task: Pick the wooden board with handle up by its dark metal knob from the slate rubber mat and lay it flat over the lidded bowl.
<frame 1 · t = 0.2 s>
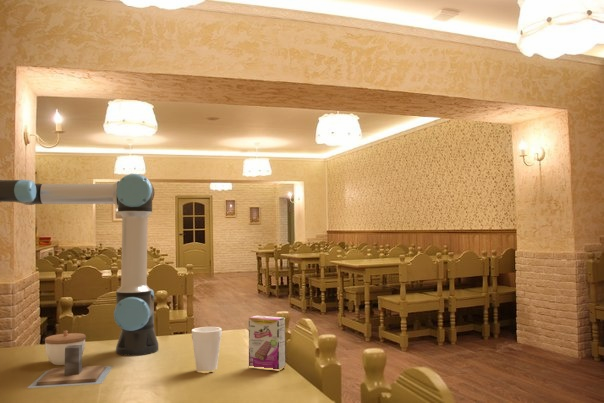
candy bar box: (267, 369, 167), on the table
mat: (73, 378, 159), on the table
foam cup: (206, 371, 165), on the table
wooden board with handle: (73, 376, 159), resting on mat
lidded bowl: (65, 364, 177), on the table
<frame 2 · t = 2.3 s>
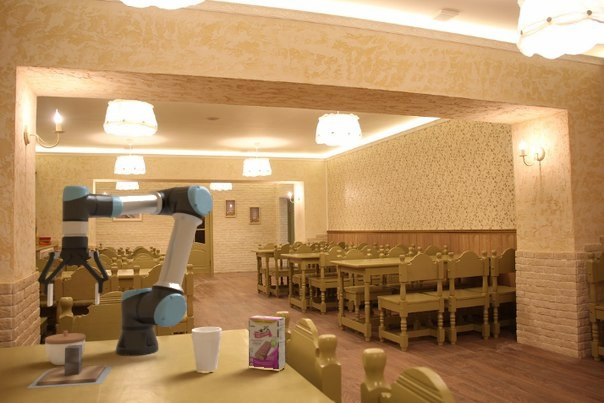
hand: (73, 305, 160), 22 cm above the table, fingers open, 13 cm apart
nothing on the table moved.
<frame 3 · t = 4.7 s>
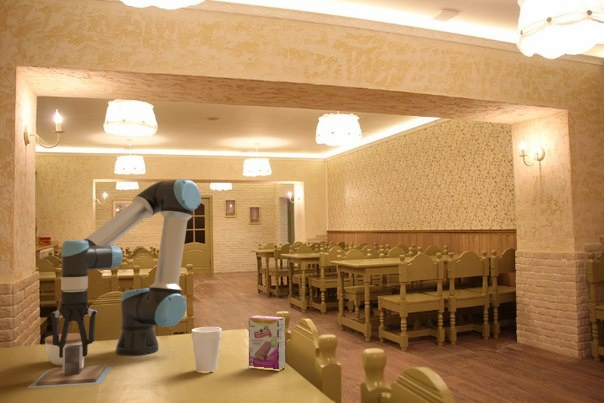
hand: (73, 367, 159), 3 cm above the table, fingers closed on wooden board with handle, 4 cm apart
wooden board with handle: (73, 376, 159), point 1 cm above the table, touching gripper, mat
everything else where it was.
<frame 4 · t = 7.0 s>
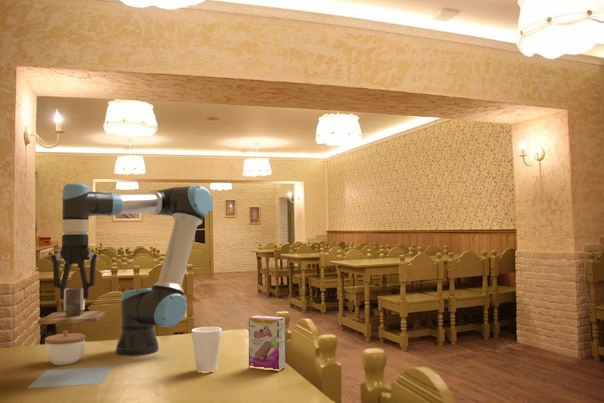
hand: (74, 309, 160), 21 cm above the table, fingers closed on wooden board with handle, 4 cm apart
wooden board with handle: (74, 318, 160), point 18 cm above the table, touching gripper
everything else where it was.
when the fingers open (15 cm above the table, at t = 9.6 s): wooden board with handle drops 1 cm, resting on lidded bowl.
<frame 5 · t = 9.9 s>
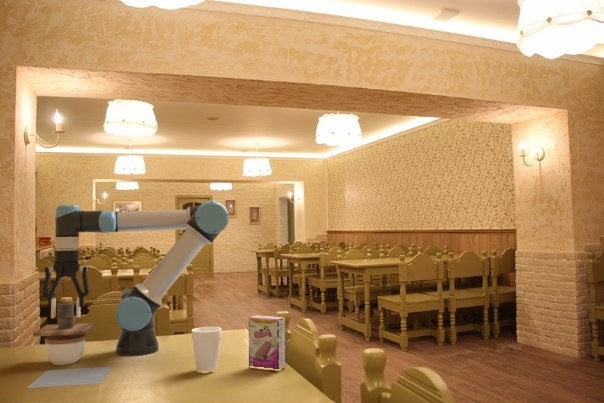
hand: (65, 317, 178), 16 cm above the table, fingers open, 7 cm apart
wooden board with handle: (65, 330, 178), point 11 cm above the table, touching lidded bowl
lidded bowl: (65, 364, 177), on the table, touching wooden board with handle
everything else where it was.
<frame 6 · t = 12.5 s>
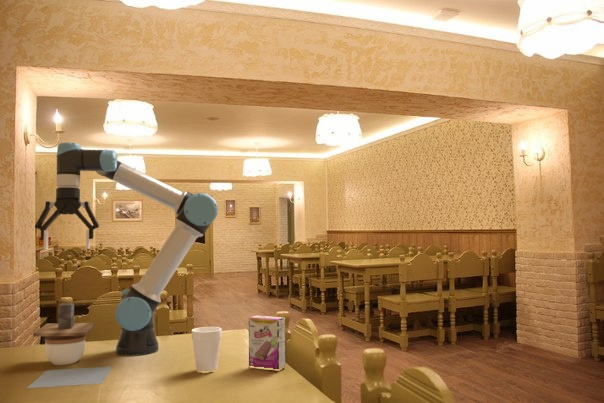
hand: (67, 249, 179), 39 cm above the table, fingers open, 13 cm apart
nothing on the table moved.
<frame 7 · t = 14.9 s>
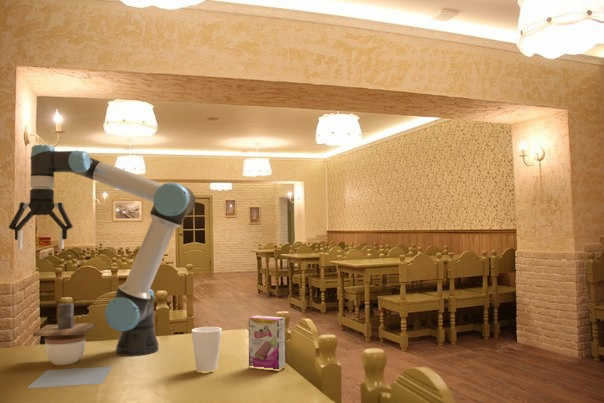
hand: (40, 249, 183), 39 cm above the table, fingers open, 13 cm apart
nothing on the table moved.
at the end: wooden board with handle 0.0 cm off-centre on the lidded bowl, point 11.2 cm above the lidded bowl's base; wooden board with handle touching lidded bowl; wooden board with handle tilted 0° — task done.
